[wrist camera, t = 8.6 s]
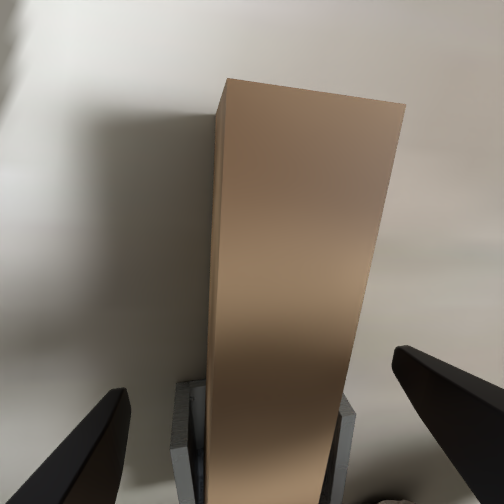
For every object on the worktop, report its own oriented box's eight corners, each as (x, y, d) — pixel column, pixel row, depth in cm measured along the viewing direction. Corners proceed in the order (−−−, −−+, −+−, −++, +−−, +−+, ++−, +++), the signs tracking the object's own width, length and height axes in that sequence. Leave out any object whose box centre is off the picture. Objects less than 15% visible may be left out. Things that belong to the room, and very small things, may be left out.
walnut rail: (279, 453, 14) (306, 554, 11) (203, 463, 14) (204, 575, 10) (327, 127, 10) (406, 104, 6) (215, 114, 9) (227, 78, 5)
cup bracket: (315, 451, 16) (340, 514, 13) (189, 477, 15) (187, 552, 12) (324, 360, 14) (356, 414, 11) (176, 383, 12) (169, 449, 10)
